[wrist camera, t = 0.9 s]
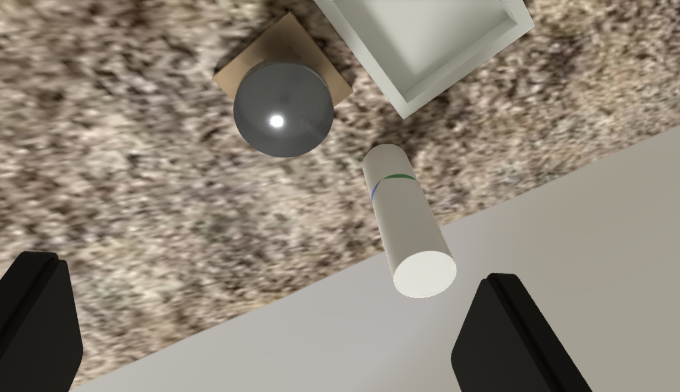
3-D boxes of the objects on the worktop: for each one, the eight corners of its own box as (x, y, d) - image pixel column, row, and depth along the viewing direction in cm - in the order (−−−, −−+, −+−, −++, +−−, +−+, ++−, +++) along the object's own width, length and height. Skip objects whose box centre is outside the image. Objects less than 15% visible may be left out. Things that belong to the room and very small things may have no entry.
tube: (416, 165, 44) (467, 276, 31) (379, 191, 45) (415, 307, 33) (390, 134, 42) (435, 240, 29) (353, 162, 43) (380, 274, 31)
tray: (448, -128, 31) (460, -129, 29) (521, 18, 37) (535, 26, 35) (310, -9, 34) (311, -3, 32) (397, 107, 40) (403, 119, 38)
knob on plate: (289, 8, 35) (290, 31, 29) (352, 87, 39) (362, 120, 33) (213, 73, 37) (201, 106, 32) (279, 142, 41) (279, 181, 36)
